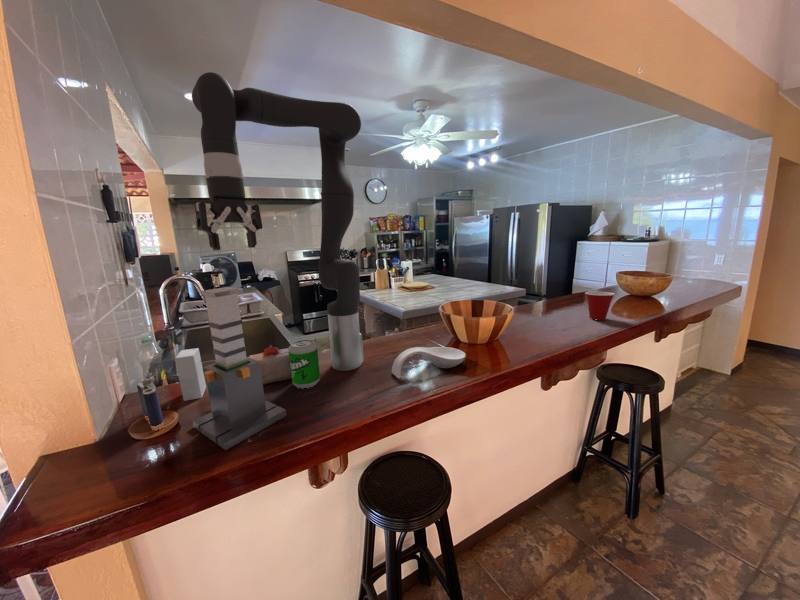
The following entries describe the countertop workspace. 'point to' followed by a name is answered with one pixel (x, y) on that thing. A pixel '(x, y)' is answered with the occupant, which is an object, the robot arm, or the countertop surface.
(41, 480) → the countertop surface
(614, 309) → the countertop surface
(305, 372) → the soda can
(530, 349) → the countertop surface
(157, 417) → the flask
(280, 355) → the food item
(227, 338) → the column
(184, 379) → the skincare box
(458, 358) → the spoon rest
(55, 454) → the countertop surface
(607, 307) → the plastic cup
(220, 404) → the stand
